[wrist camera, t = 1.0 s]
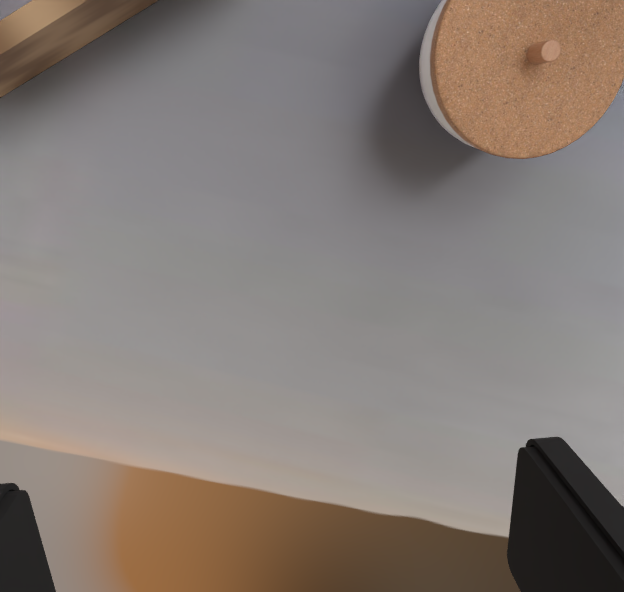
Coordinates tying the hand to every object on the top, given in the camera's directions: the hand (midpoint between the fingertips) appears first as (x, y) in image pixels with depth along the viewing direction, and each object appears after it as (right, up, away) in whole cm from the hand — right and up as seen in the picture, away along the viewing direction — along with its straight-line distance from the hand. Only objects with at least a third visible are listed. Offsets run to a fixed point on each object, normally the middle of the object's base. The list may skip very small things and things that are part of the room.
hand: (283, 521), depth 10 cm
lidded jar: (+12, +20, +25) cm, 34 cm away
